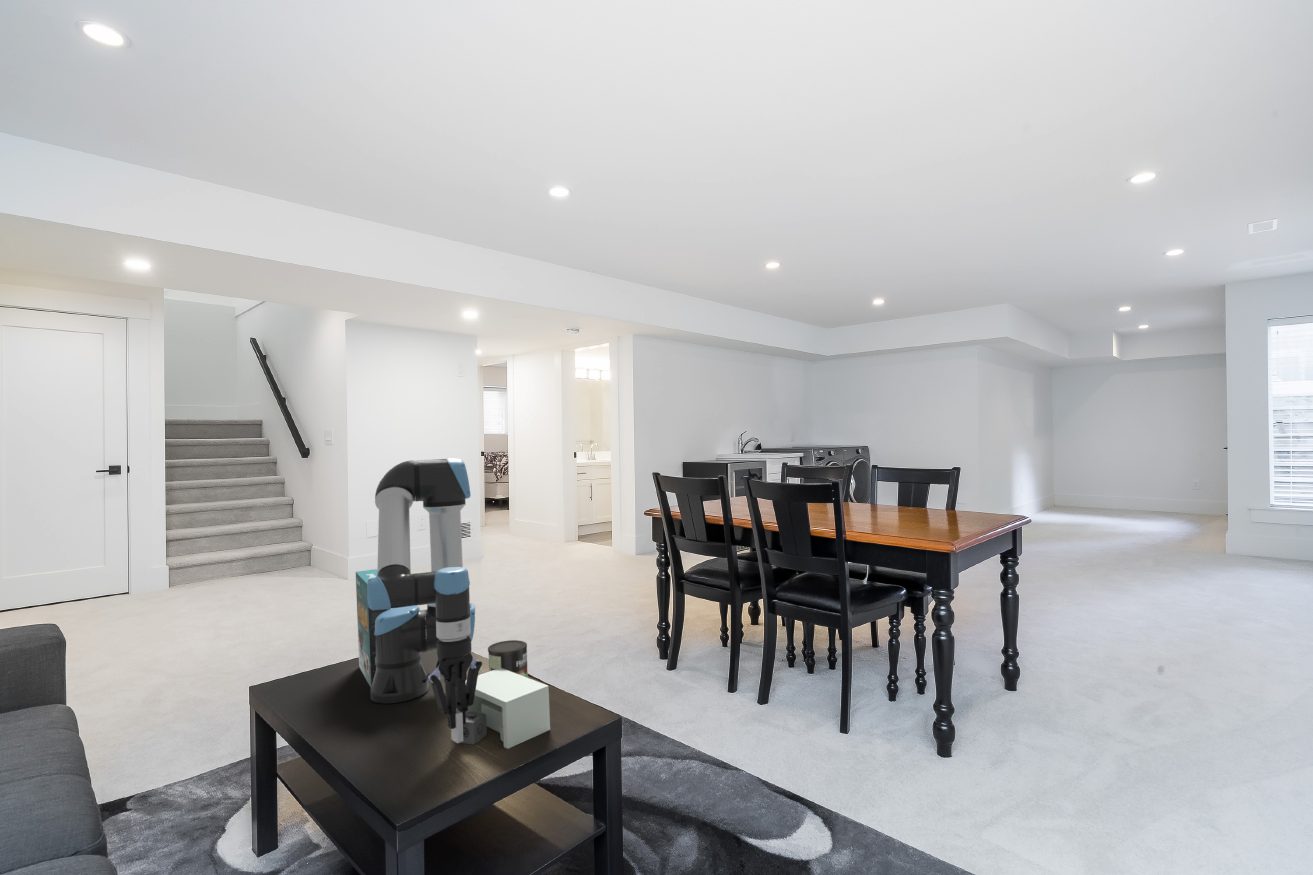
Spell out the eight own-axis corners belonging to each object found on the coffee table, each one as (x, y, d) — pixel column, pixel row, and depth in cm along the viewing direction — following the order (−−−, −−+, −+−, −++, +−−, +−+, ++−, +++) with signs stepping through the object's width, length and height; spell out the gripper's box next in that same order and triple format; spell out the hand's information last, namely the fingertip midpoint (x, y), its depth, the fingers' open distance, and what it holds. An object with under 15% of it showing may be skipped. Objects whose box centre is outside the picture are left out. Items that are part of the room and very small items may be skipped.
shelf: (460, 724, 159) (458, 681, 159) (502, 707, 168) (500, 667, 168) (507, 748, 145) (505, 702, 145) (550, 729, 154) (548, 685, 154)
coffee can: (534, 691, 178) (532, 640, 178) (519, 706, 168) (517, 652, 168) (500, 689, 180) (498, 639, 180) (483, 705, 170) (480, 651, 170)
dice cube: (474, 744, 148) (473, 722, 148) (455, 741, 150) (455, 720, 150) (486, 734, 153) (485, 713, 153) (468, 732, 154) (467, 711, 154)
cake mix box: (393, 683, 188) (389, 580, 188) (371, 688, 185) (367, 583, 185) (379, 662, 207) (376, 569, 206) (359, 666, 203) (355, 571, 203)
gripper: (435, 647, 140) (439, 756, 140) (487, 632, 150) (491, 734, 149) (418, 640, 145) (422, 745, 145) (470, 627, 155) (474, 725, 155)
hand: (457, 740), depth 147 cm, fingers closed
